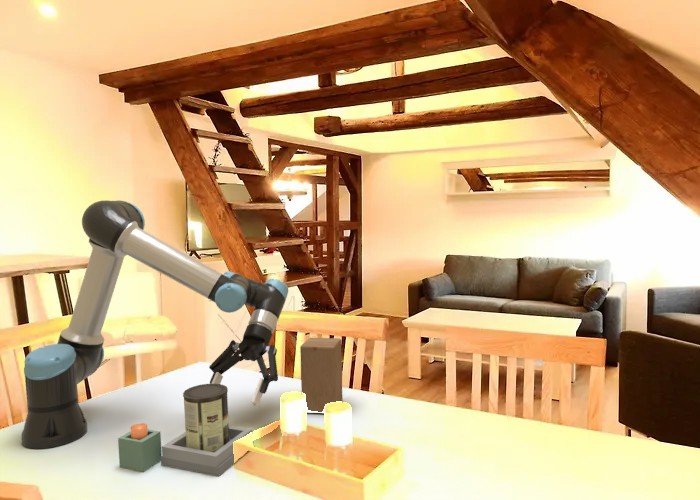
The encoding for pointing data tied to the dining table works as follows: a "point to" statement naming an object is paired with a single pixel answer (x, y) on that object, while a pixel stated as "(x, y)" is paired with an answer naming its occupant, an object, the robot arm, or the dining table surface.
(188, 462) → the tray
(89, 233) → the robot arm
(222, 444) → the coffee can
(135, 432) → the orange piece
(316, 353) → the wooden block
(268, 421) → the dining table surface
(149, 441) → the green egg cup
